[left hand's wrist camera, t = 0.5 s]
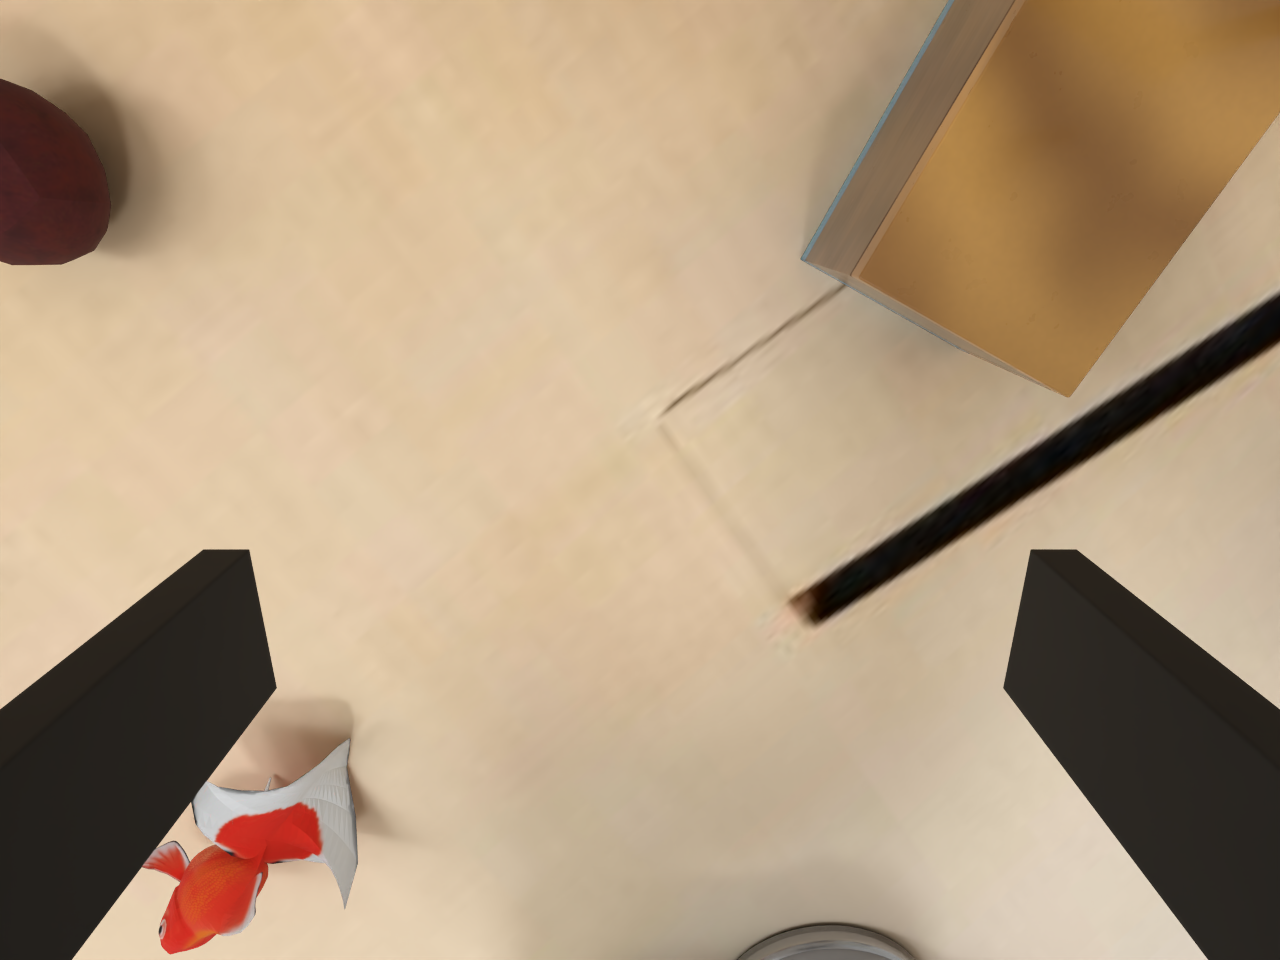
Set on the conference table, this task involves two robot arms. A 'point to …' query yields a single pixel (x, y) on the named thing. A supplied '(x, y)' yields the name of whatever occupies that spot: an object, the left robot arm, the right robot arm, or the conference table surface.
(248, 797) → the fish
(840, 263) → the chest
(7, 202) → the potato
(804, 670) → the conference table surface
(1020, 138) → the lid
